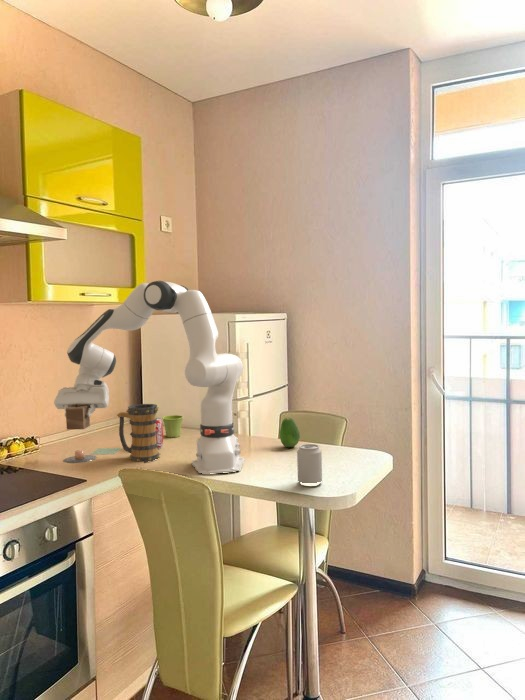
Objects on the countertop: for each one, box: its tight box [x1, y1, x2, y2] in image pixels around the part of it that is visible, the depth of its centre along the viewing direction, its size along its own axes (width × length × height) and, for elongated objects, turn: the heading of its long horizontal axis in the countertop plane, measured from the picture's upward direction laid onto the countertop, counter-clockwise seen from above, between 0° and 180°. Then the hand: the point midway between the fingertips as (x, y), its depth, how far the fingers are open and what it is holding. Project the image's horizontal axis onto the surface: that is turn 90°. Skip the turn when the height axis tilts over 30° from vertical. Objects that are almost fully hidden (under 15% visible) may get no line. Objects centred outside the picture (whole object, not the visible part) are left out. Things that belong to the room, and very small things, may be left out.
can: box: [296, 443, 323, 483], centre depth 170 cm, size 8×8×12 cm
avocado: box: [279, 417, 301, 448], centre depth 219 cm, size 8×8×12 cm
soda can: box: [156, 417, 164, 450], centre depth 225 cm, size 7×7×12 cm
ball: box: [74, 449, 86, 460], centre depth 210 cm, size 3×3×3 cm
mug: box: [116, 403, 161, 463], centre depth 209 cm, size 13×17×20 cm
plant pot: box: [162, 414, 184, 438], centre depth 248 cm, size 9×9×9 cm
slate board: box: [63, 454, 97, 464], centre depth 210 cm, size 12×12×1 cm
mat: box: [88, 447, 123, 456], centre depth 221 cm, size 10×10×1 cm
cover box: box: [65, 404, 91, 431], centre depth 209 cm, size 6×6×9 cm
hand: (77, 416), depth 208 cm, fingers closed on cover box, 6 cm apart
